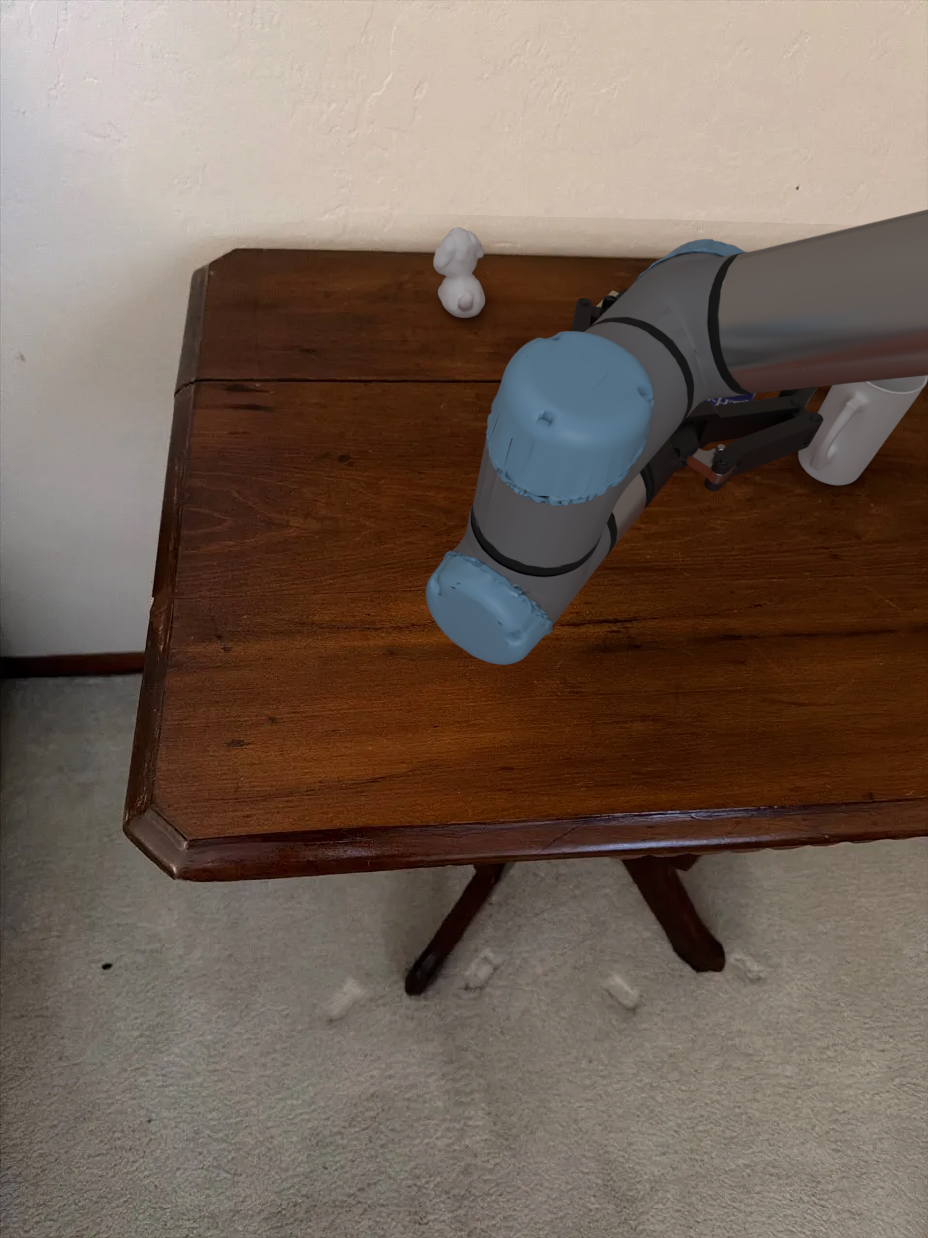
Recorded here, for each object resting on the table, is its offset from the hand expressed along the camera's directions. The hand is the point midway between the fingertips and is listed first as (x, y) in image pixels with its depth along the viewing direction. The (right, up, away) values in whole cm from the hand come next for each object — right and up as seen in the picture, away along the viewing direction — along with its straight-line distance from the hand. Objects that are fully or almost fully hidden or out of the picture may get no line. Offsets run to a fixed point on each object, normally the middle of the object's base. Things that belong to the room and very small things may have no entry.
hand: (735, 318), depth 69 cm
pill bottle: (+4, -3, +19) cm, 20 cm away
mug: (+13, -9, +16) cm, 23 cm away
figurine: (-22, +10, +25) cm, 34 cm away
